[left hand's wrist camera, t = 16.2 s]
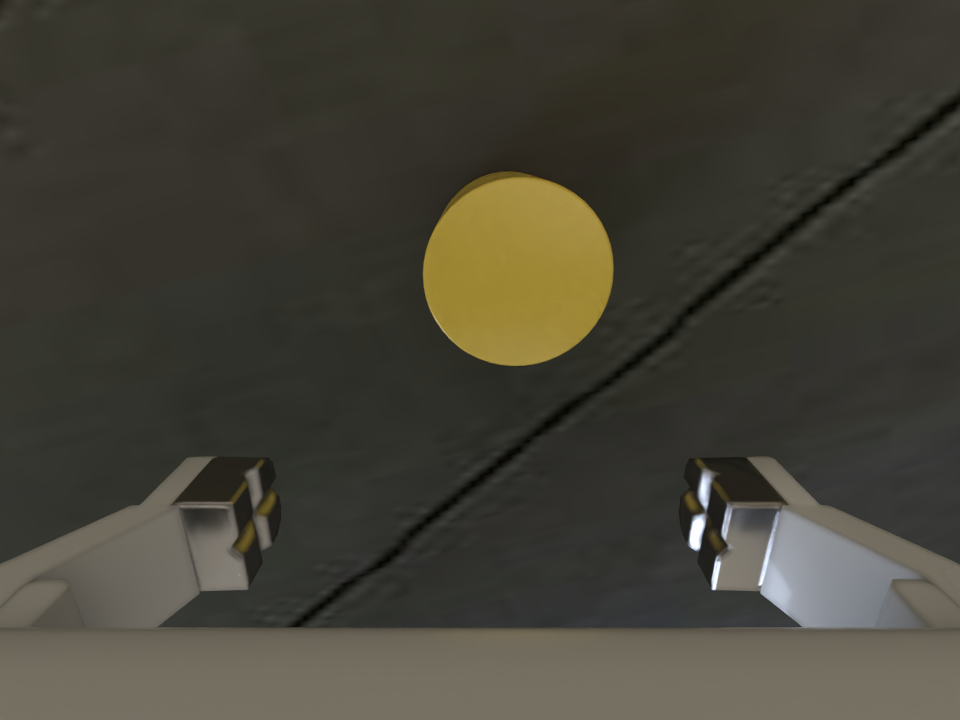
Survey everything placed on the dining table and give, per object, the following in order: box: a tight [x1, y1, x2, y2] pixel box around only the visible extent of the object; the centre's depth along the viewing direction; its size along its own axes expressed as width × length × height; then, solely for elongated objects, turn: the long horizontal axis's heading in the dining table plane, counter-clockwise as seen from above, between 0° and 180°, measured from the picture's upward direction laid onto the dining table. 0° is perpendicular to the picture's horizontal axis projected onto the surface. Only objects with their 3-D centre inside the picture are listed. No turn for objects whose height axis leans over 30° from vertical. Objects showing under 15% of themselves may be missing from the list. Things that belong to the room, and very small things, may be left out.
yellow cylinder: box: [423, 171, 614, 366], centre depth 16 cm, size 5×5×5 cm
